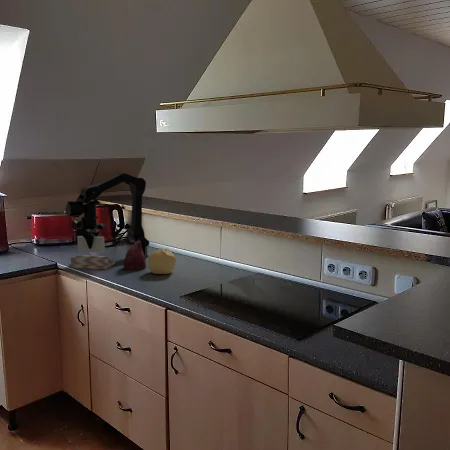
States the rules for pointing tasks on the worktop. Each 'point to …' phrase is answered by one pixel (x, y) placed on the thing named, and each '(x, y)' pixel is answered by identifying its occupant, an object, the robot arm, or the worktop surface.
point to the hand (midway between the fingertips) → (91, 248)
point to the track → (91, 262)
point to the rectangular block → (96, 247)
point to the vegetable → (135, 258)
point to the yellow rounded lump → (161, 262)
